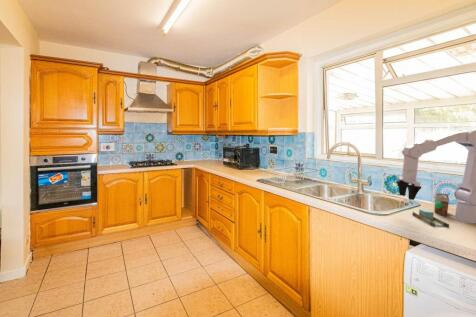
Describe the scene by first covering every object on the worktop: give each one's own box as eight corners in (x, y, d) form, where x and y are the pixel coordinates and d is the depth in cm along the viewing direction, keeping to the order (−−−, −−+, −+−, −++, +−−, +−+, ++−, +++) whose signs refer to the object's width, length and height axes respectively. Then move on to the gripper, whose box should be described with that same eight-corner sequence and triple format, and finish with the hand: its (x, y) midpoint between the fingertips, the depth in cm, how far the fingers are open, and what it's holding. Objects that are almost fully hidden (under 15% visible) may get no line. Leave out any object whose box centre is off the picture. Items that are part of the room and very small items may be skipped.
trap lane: (425, 216, 125) (425, 212, 125) (448, 228, 110) (449, 224, 110) (412, 215, 126) (412, 212, 125) (433, 227, 110) (434, 223, 110)
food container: (431, 209, 137) (434, 191, 136) (446, 211, 133) (448, 193, 132) (431, 214, 128) (433, 196, 127) (446, 217, 124) (449, 198, 123)
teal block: (427, 217, 122) (428, 209, 122) (432, 220, 118) (433, 212, 118) (418, 217, 122) (419, 209, 122) (423, 219, 119) (424, 211, 118)
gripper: (393, 167, 127) (390, 193, 129) (410, 172, 113) (406, 201, 115) (407, 168, 127) (404, 193, 128) (426, 173, 112) (422, 201, 114)
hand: (406, 197), depth 121 cm, fingers open, 7 cm apart
